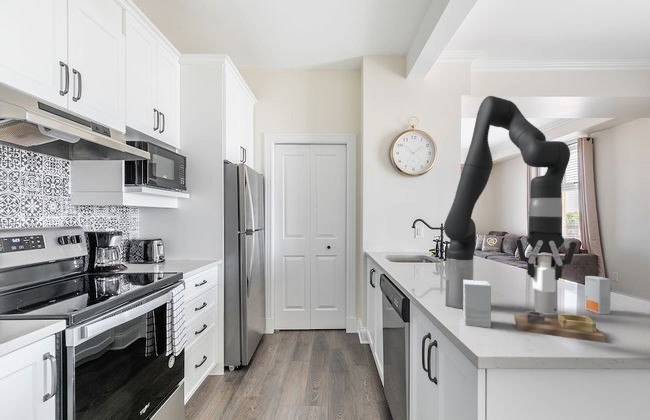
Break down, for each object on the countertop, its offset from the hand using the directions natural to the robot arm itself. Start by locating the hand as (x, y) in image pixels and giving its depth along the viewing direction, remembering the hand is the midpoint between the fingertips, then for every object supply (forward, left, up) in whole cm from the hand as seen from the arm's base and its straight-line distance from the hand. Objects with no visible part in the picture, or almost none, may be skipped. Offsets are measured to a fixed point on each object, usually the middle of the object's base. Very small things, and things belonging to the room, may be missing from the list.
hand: (544, 278), depth 90 cm
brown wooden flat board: (+4, +11, -17) cm, 20 cm away
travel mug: (+4, +26, -17) cm, 31 cm away
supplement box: (-17, +7, -17) cm, 25 cm away
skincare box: (+21, +40, -17) cm, 48 cm away
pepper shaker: (0, 0, -4) cm, 4 cm away
